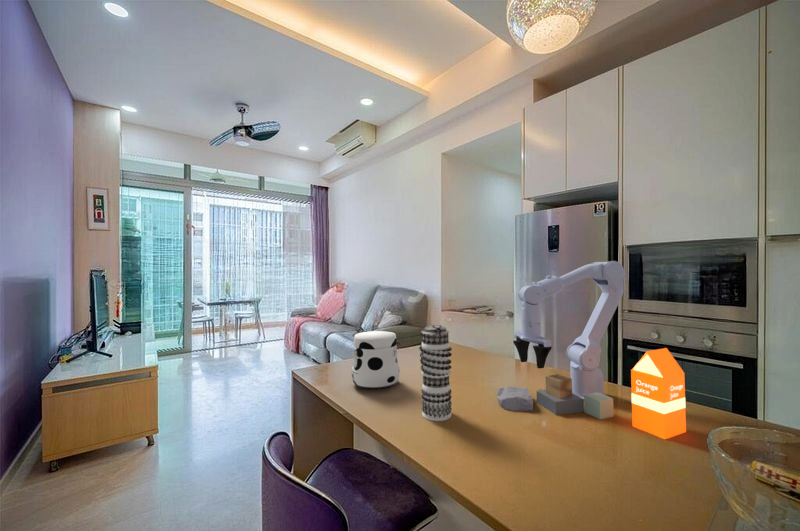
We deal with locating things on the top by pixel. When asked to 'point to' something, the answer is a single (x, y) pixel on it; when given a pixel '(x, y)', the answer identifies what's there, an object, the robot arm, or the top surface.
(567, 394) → the walnut block
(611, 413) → the sage block
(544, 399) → the charcoal block
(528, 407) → the stone block
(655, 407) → the orange juice
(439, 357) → the decorative candle
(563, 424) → the top surface
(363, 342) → the milk container
